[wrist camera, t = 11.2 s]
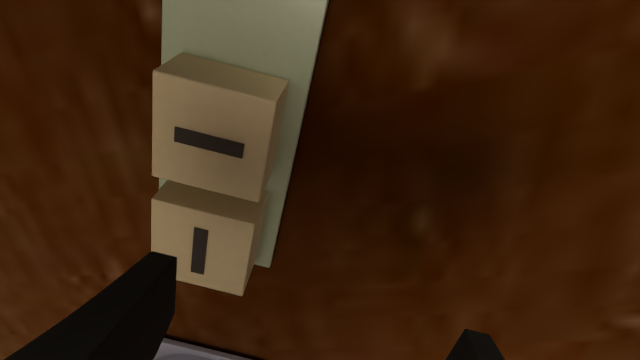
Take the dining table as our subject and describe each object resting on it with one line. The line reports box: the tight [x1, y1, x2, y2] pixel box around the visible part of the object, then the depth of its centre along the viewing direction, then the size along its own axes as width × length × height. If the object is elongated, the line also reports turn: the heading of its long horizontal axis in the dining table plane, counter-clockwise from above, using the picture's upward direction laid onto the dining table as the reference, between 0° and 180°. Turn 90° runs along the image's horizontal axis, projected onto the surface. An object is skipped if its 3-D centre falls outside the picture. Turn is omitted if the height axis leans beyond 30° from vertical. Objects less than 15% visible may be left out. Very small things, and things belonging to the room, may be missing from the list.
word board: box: [151, 0, 329, 296], centre depth 17 cm, size 16×6×3 cm, turn 167°
